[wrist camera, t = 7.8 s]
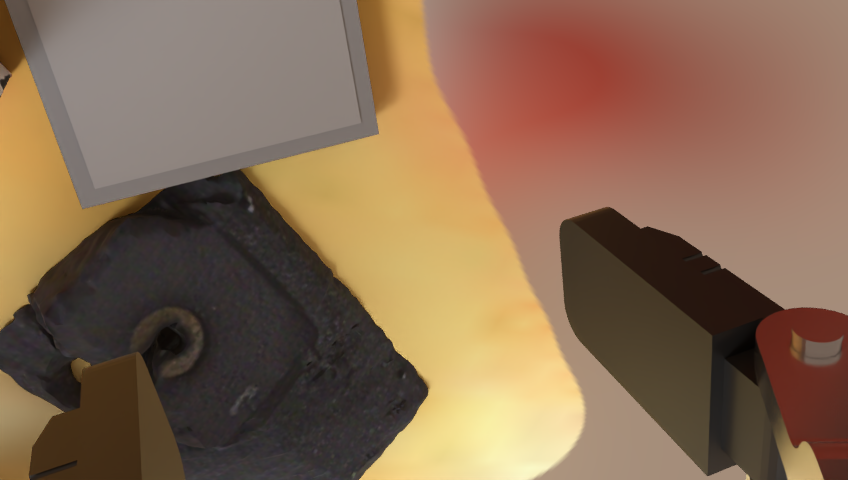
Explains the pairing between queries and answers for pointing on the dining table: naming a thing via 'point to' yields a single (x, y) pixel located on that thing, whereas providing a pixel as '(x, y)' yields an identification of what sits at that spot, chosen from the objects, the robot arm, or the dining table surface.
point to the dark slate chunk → (222, 337)
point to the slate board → (192, 85)
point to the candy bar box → (3, 77)
